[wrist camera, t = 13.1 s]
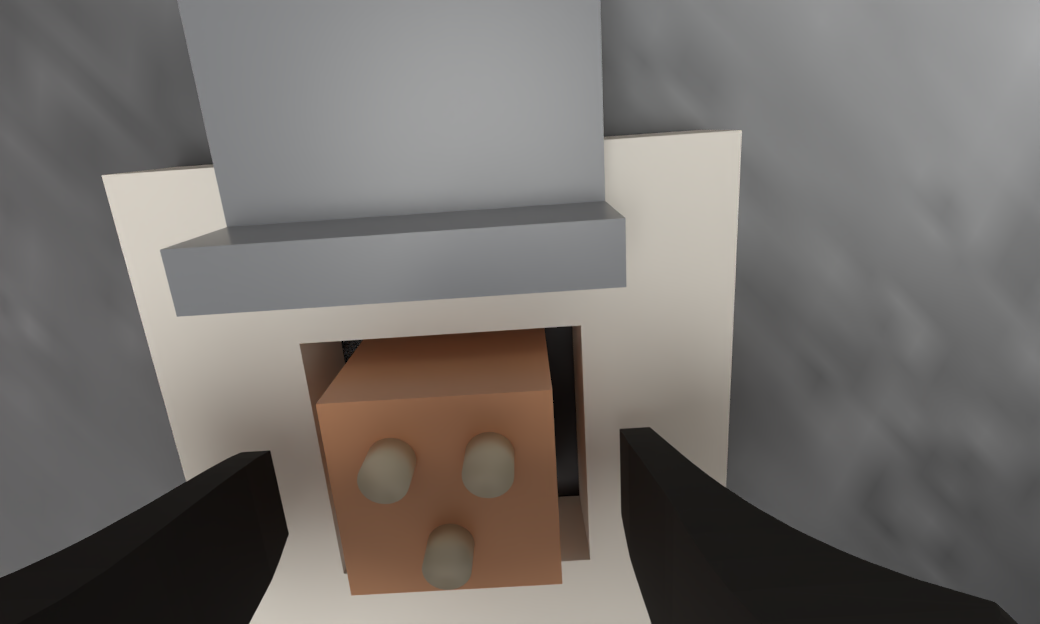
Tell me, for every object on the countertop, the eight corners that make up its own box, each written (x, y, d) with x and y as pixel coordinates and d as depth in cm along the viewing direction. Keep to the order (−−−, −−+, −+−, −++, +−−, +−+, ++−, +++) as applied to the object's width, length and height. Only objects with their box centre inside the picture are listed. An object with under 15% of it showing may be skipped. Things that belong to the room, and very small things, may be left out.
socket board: (688, 673, 18) (714, 757, 16) (301, 694, 18) (268, 779, 16) (701, 130, 13) (742, 130, 11) (175, 167, 13) (101, 175, 11)
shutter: (600, 249, 11) (626, 287, 8) (257, 272, 11) (177, 316, 9) (589, -165, 9) (619, -288, 6) (173, -132, 9) (34, -238, 7)
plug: (550, 460, 16) (565, 612, 11) (396, 469, 16) (341, 624, 11) (542, 313, 15) (554, 407, 10) (375, 323, 15) (301, 422, 10)
